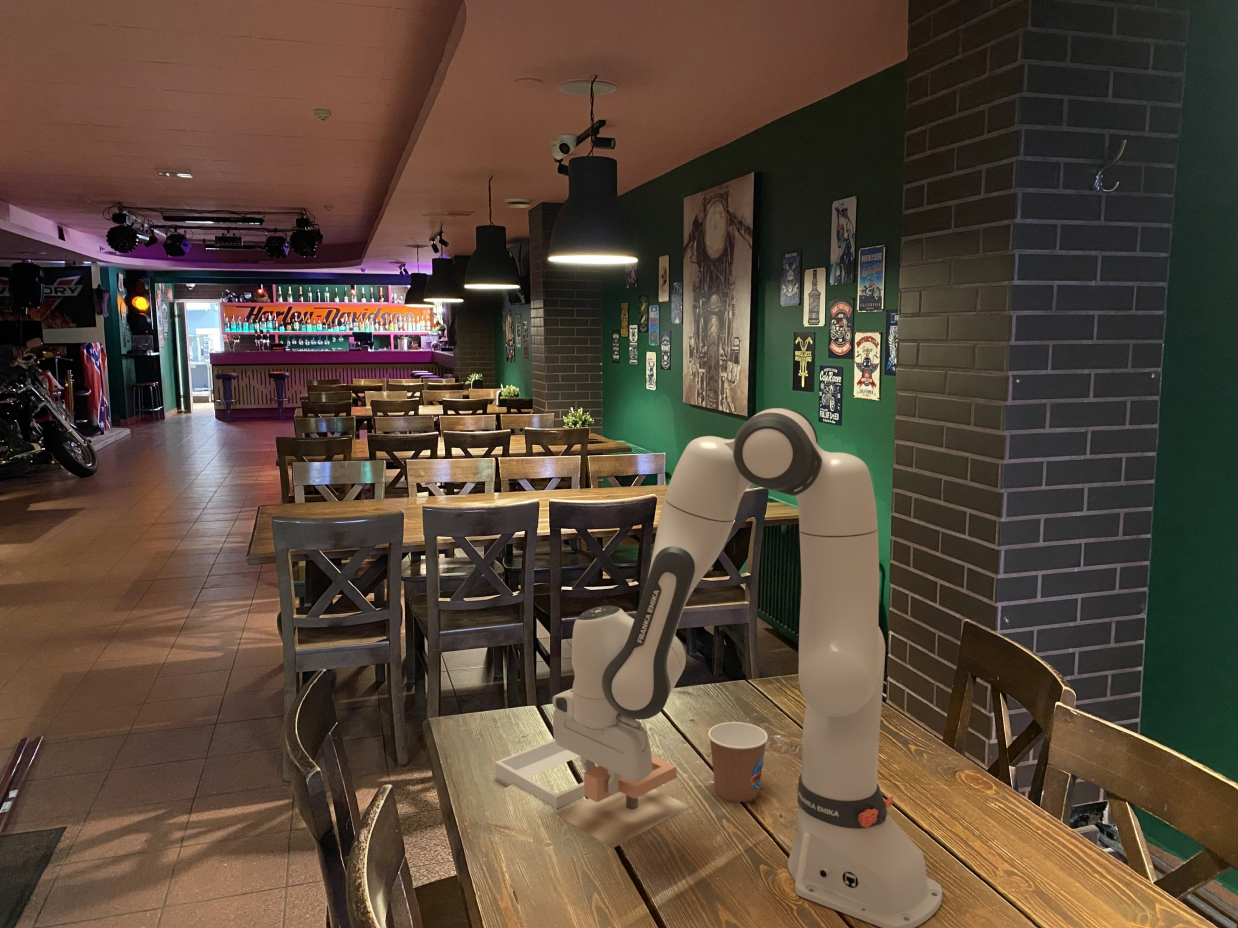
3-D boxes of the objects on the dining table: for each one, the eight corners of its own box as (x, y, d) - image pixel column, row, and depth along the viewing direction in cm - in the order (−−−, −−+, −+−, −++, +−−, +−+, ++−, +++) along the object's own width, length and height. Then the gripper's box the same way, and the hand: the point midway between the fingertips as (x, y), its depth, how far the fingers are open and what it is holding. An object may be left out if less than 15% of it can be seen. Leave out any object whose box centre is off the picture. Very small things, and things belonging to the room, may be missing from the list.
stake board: (690, 814, 150) (691, 743, 149) (613, 856, 138) (613, 779, 136) (632, 785, 160) (632, 718, 159) (555, 821, 148) (555, 749, 146)
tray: (646, 774, 165) (646, 756, 164) (556, 816, 150) (556, 797, 149) (583, 743, 177) (583, 727, 177) (495, 779, 162) (495, 761, 162)
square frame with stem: (676, 777, 149) (676, 755, 149) (612, 810, 139) (611, 786, 139) (634, 758, 157) (634, 737, 156) (570, 788, 146) (569, 765, 146)
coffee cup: (765, 816, 150) (766, 749, 148) (704, 810, 152) (705, 744, 150) (767, 787, 160) (768, 724, 158) (710, 781, 162) (711, 719, 160)
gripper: (660, 718, 137) (661, 802, 139) (574, 684, 152) (576, 760, 154) (631, 730, 133) (633, 817, 135) (545, 694, 148) (548, 773, 149)
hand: (602, 786), depth 144 cm, fingers closed on square frame with stem, 3 cm apart
